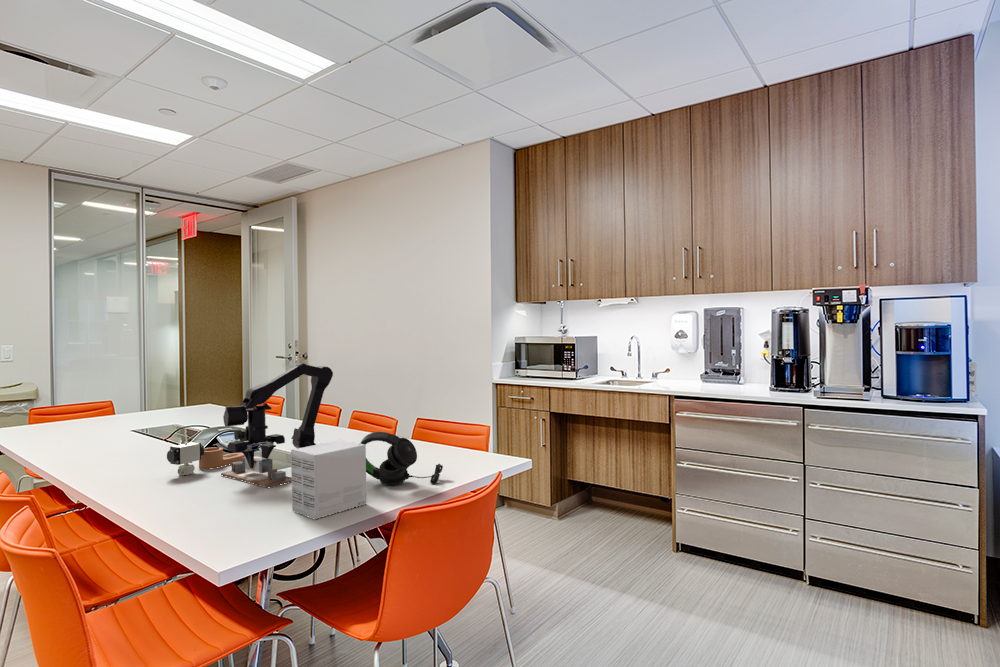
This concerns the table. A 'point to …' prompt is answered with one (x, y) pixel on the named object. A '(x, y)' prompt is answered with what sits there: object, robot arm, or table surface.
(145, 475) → the table surface
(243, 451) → the robot arm
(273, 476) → the stand
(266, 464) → the steel coupler
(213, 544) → the table surface
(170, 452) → the pneumatic valve
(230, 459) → the bracket
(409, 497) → the table surface
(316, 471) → the supplement box
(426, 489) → the table surface
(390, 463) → the headset
